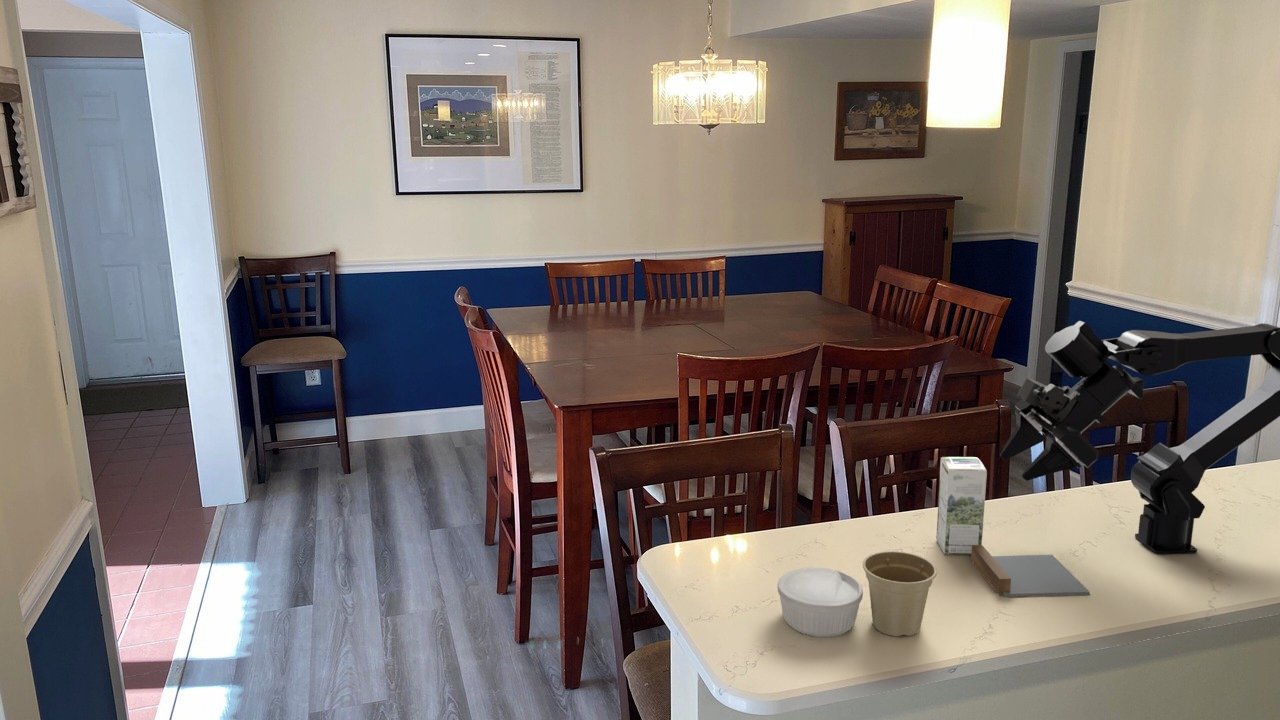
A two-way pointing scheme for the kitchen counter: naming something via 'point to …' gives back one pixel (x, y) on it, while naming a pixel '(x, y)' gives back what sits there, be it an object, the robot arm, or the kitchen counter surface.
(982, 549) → the stop block
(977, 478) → the syrup box
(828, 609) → the ramekin
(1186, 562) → the kitchen counter surface
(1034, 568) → the seat mat
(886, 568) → the flower pot
